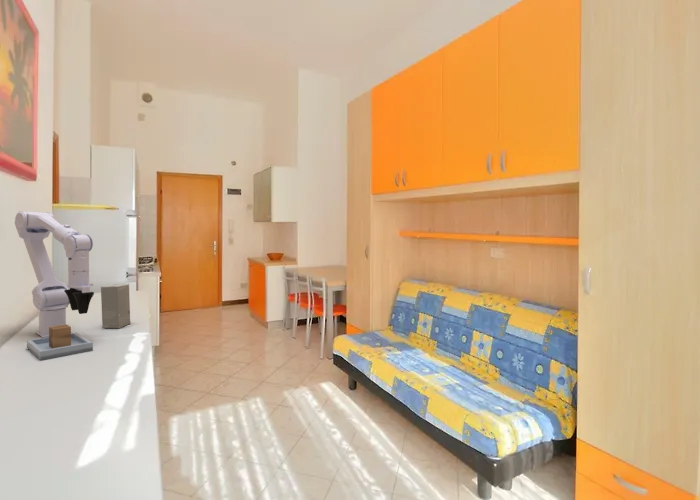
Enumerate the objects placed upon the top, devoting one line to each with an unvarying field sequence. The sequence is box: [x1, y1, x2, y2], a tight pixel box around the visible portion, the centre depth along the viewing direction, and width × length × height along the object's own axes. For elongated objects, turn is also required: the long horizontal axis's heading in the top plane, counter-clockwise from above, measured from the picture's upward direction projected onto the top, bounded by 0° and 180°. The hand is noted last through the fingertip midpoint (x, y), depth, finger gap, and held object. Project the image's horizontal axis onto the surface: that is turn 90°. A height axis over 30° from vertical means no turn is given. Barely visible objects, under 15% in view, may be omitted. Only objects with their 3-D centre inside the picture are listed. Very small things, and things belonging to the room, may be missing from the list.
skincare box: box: [100, 283, 131, 329], centre depth 152 cm, size 8×7×16 cm
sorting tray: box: [26, 332, 94, 361], centre depth 123 cm, size 16×13×2 cm
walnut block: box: [49, 323, 72, 349], centre depth 123 cm, size 4×4×6 cm
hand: (79, 311), depth 134 cm, fingers open, 7 cm apart
